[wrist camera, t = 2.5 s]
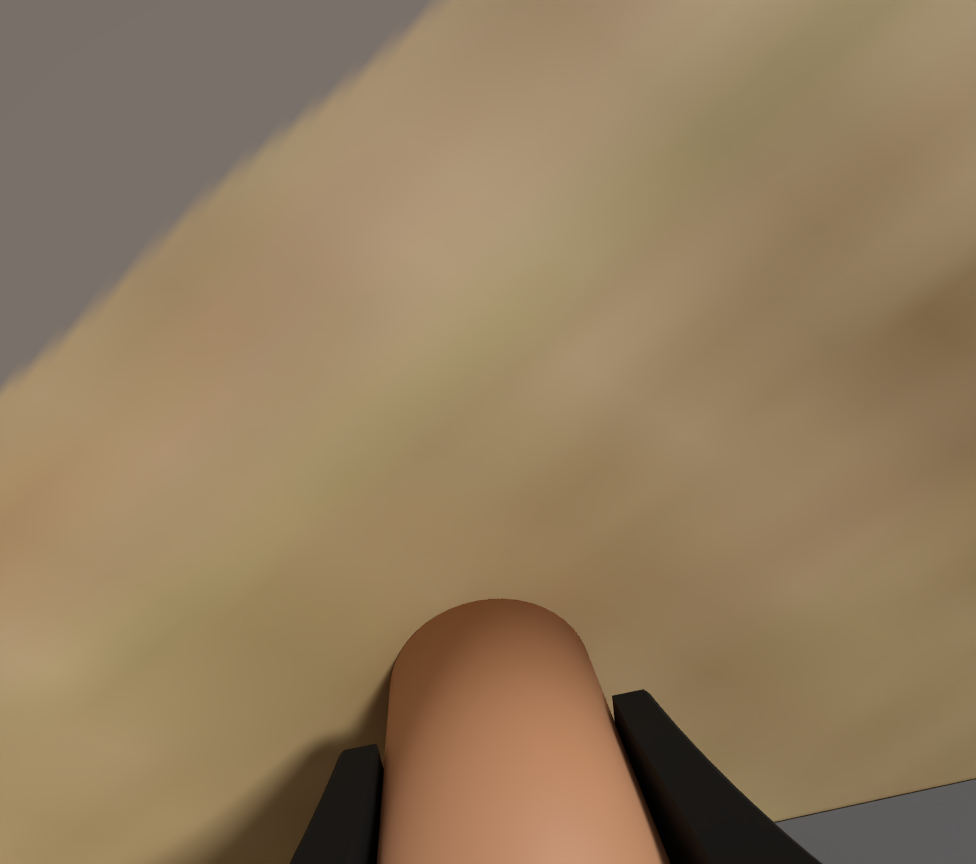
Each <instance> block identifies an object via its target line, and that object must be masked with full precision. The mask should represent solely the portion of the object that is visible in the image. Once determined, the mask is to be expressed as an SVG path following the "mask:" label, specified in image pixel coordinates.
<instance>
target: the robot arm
mask: <svg viewBox="0 0 976 864" xmlns="http://www.w3.org/2000/svg"><path fill="white" fill-rule="evenodd" d="M612 699H613V709H614V719H615V724H616V727H617V729H618V732H619V734H620V737H621V739H622V742H623V745H624V747H625V750H626V752H627V755H628V757H629V760H630V762H631V765H632V767H633V770H634V772H635V775H636V777H637V780H638V783H639V785H640V788H641V790H642V793H643V795H644V798H645V800H646V803H647V805H648V808H649V810H650V813H651V815H652V818H653V821H654V823H655V826H656V828H657V831H658V833H659V836H660V838H661V841H662V843H663V846H664V848H665V851H666V854H667V856H668V859H669V861H670V864H822V863H821V862H820V861H818V860H817V859H816V858H815V857H813V856H812V855H811V854H810V853H809V852H807V851H806V850H805V849H804V848H803V847H802V846H800V845H799V844H798V843H797V842H796V841H794V840H793V839H792V838H791V837H790V836H789V835H788V834H786V833H785V832H784V831H783V830H782V829H781V828H780V827H778V826H777V825H776V824H775V823H774V822H773V821H772V820H771V819H770V818H769V817H767V816H766V815H765V814H764V813H763V812H762V811H761V810H760V809H759V808H758V807H756V806H755V805H754V804H753V803H752V802H751V801H750V800H749V799H748V798H747V797H746V796H745V795H744V794H743V793H742V792H741V791H739V790H738V789H737V788H736V787H735V786H734V785H733V784H732V783H731V782H730V781H729V780H728V779H727V778H726V777H725V776H724V775H723V774H722V773H721V772H720V771H719V770H718V769H717V768H716V767H715V766H714V765H713V764H712V763H711V762H710V761H709V760H708V759H707V758H706V757H705V756H704V754H703V753H702V752H701V751H700V750H699V749H698V748H697V747H696V746H695V745H694V744H693V743H692V742H691V741H690V740H689V738H688V737H687V736H686V735H685V734H684V733H683V732H682V731H681V730H680V729H679V728H678V726H677V725H676V724H675V723H674V722H673V721H672V720H671V718H670V717H669V716H668V715H667V714H666V713H665V712H664V710H663V709H662V708H661V707H660V706H659V704H658V703H657V702H656V701H655V700H654V698H653V697H652V696H651V695H650V693H648V692H647V691H645V690H644V689H643V690H638V691H633V692H628V693H624V694H619V695H614V696H612ZM383 772H384V769H383V765H382V762H381V758H380V754H379V751H378V747H377V744H373V745H368V746H363V747H358V748H353V749H348V750H344V751H343V752H342V753H341V755H340V756H339V758H338V760H337V763H336V765H335V768H334V770H333V772H332V775H331V777H330V779H329V782H328V784H327V786H326V788H325V791H324V793H323V795H322V797H321V800H320V802H319V804H318V806H317V808H316V810H315V813H314V815H313V817H312V819H311V821H310V823H309V825H308V828H307V830H306V832H305V834H304V836H303V838H302V840H301V842H300V844H299V846H298V848H297V850H296V852H295V854H294V856H293V858H292V860H291V862H290V864H377V852H378V839H379V825H380V812H381V799H382V785H383Z"/></svg>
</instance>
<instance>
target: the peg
mask: <svg viewBox="0 0 976 864" xmlns="http://www.w3.org/2000/svg"><path fill="white" fill-rule="evenodd" d="M377 864H670V861H669V859H668V856H667V854H666V851H665V848H664V846H663V843H662V841H661V838H660V836H659V833H658V831H657V828H656V826H655V823H654V821H653V818H652V815H651V813H650V810H649V808H648V805H647V803H646V800H645V798H644V795H643V793H642V790H641V788H640V785H639V783H638V780H637V777H636V775H635V772H634V770H633V767H632V765H631V762H630V760H629V757H628V755H627V752H626V750H625V747H624V745H623V742H622V739H621V737H620V734H619V732H618V729H617V727H616V724H615V722H614V719H613V717H612V714H611V712H610V709H609V707H608V704H607V701H606V699H605V696H604V694H603V691H602V689H601V686H600V684H599V681H598V679H597V676H596V674H595V671H594V669H593V666H592V663H591V661H590V658H589V656H588V653H587V651H586V648H585V646H584V644H583V642H582V640H581V639H580V637H579V635H578V634H577V633H576V632H575V630H574V629H573V628H572V627H571V626H570V625H569V624H568V623H567V622H566V621H565V620H563V619H562V618H561V617H559V616H558V615H556V614H555V613H553V612H551V611H549V610H547V609H545V608H543V607H541V606H538V605H535V604H532V603H528V602H524V601H519V600H511V599H488V600H480V601H474V602H470V603H466V604H462V605H460V606H457V607H454V608H452V609H449V610H447V611H445V612H443V613H441V614H439V615H438V616H436V617H434V618H433V619H431V620H430V621H428V622H427V623H426V624H424V625H423V626H422V627H421V628H420V629H419V630H417V631H416V632H415V633H414V635H413V636H412V637H411V638H410V639H409V640H408V641H407V643H406V644H405V646H404V647H403V649H402V650H401V652H400V654H399V656H398V658H397V660H396V662H395V665H394V668H393V671H392V675H391V681H390V692H389V705H388V719H387V732H386V745H385V759H384V772H383V785H382V799H381V812H380V825H379V839H378V852H377Z"/></svg>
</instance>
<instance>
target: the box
mask: <svg viewBox="0 0 976 864" xmlns="http://www.w3.org/2000/svg"><path fill="white" fill-rule="evenodd" d="M775 824H776V825H777V826H778V827H780V828H781V829H782V830H783V831H784V832H785V833H786V834H788V835H789V836H790V837H791V838H792V839H793V840H794V841H796V842H797V843H798V844H799V845H800V846H802V847H803V848H804V849H805V850H806V851H807V852H809V853H810V854H811V855H812V856H813V857H815V858H816V859H817V860H818V861H820V862H821V863H822V864H976V779H975V780H970V781H966V782H961V783H956V784H952V785H947V786H943V787H938V788H933V789H929V790H924V791H919V792H915V793H910V794H906V795H901V796H896V797H892V798H887V799H883V800H878V801H873V802H869V803H864V804H860V805H855V806H850V807H846V808H841V809H837V810H832V811H827V812H823V813H818V814H814V815H809V816H804V817H800V818H795V819H791V820H786V821H781V822H777V823H775Z"/></svg>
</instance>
